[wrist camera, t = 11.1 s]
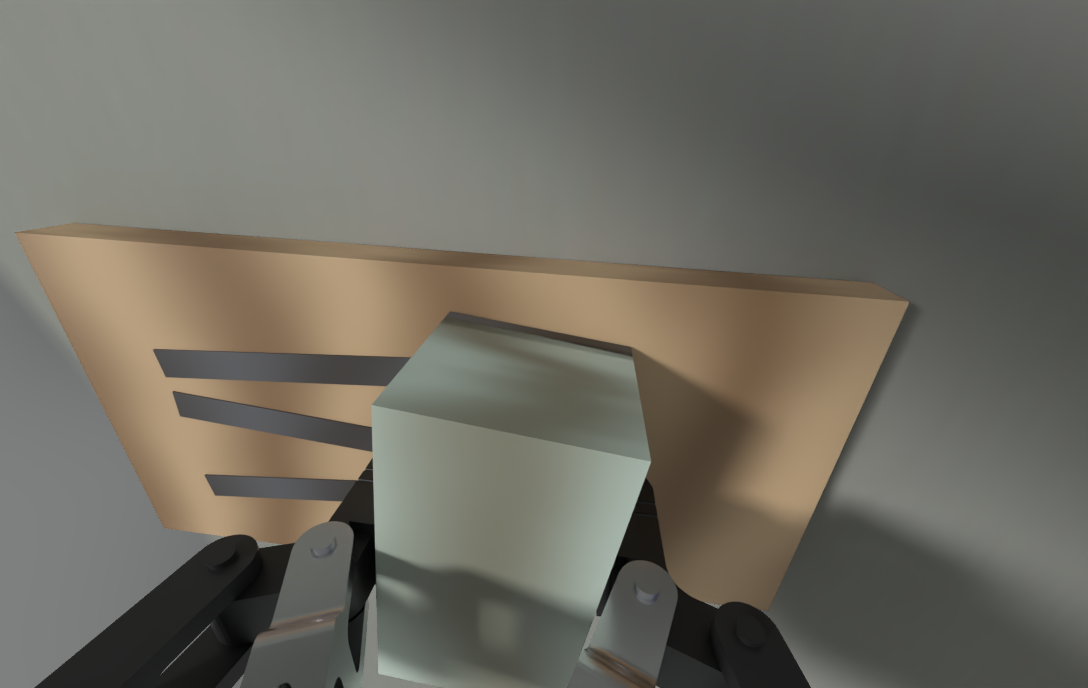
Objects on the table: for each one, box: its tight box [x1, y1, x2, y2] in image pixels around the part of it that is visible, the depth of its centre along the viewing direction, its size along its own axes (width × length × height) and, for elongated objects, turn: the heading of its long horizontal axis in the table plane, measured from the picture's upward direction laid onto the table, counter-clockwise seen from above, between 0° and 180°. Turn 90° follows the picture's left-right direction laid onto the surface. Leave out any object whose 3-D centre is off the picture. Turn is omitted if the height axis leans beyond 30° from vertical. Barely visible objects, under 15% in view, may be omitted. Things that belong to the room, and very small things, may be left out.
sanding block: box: [371, 311, 651, 688], centre depth 11 cm, size 5×9×4 cm, turn 171°
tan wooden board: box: [15, 223, 909, 611], centre depth 14 cm, size 24×12×2 cm, turn 88°
